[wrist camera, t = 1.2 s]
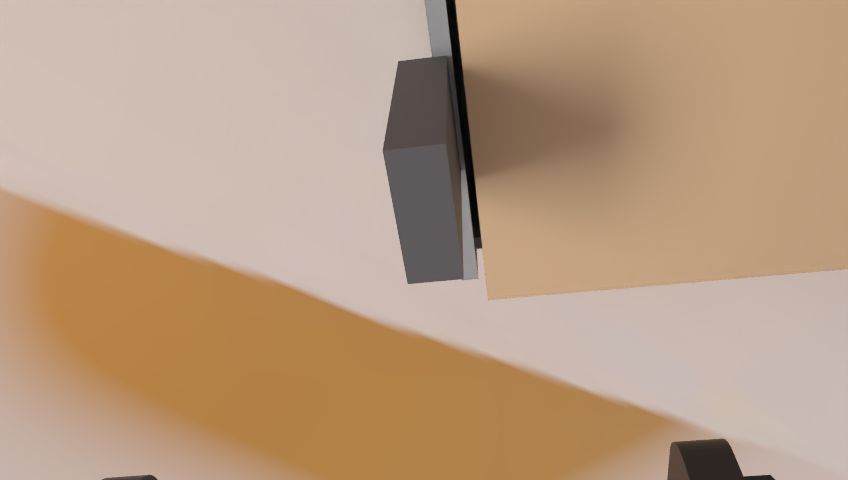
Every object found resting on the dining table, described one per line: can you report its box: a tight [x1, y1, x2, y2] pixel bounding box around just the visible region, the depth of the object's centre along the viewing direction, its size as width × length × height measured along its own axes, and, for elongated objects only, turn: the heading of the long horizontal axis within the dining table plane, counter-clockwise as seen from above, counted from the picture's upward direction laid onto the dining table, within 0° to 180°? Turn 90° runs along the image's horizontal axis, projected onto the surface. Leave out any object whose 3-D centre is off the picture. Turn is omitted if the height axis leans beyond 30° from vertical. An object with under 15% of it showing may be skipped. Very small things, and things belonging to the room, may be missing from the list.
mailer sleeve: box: [455, 0, 848, 300], centre depth 24 cm, size 13×14×7 cm
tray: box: [383, 0, 482, 284], centre depth 22 cm, size 14×13×11 cm
